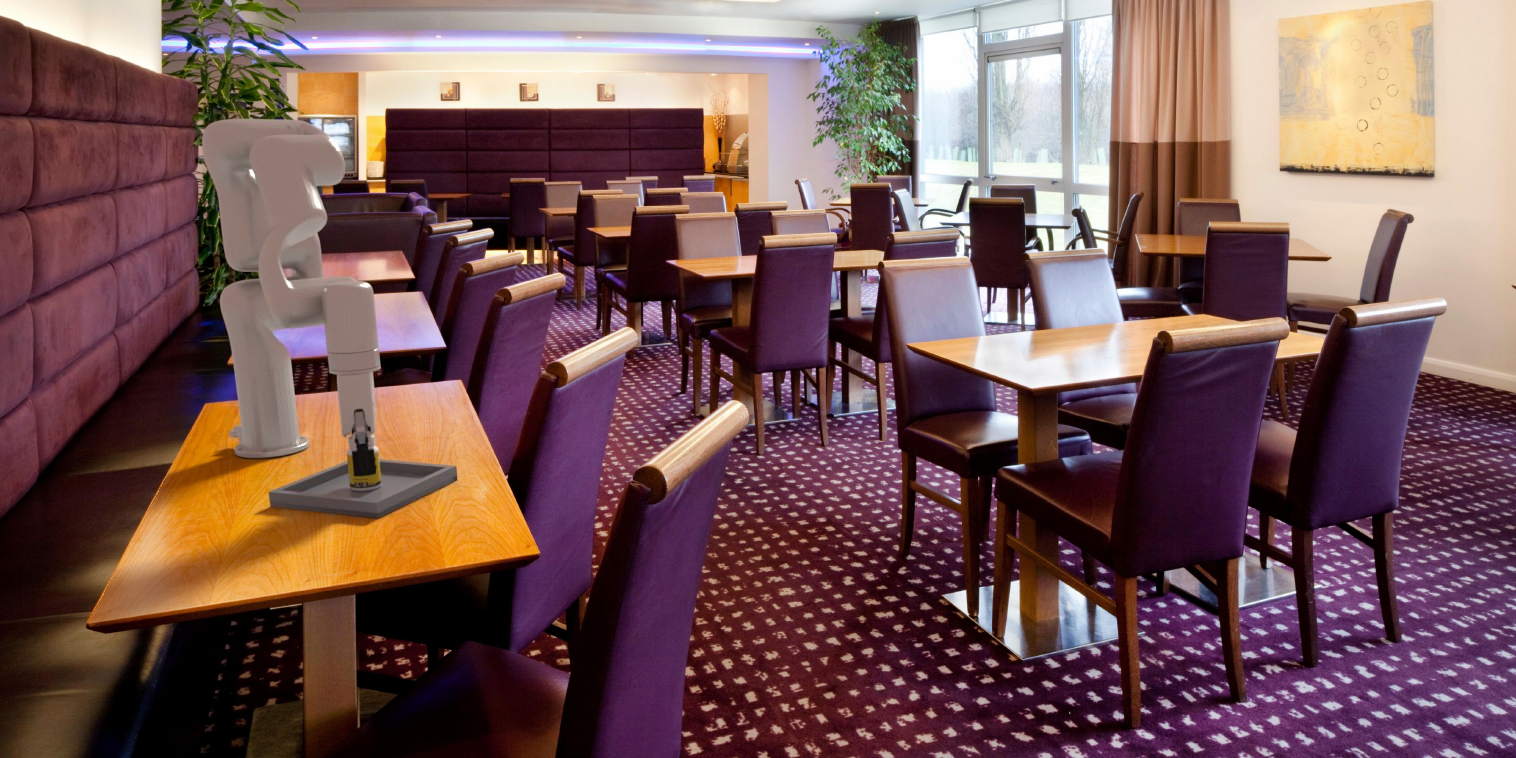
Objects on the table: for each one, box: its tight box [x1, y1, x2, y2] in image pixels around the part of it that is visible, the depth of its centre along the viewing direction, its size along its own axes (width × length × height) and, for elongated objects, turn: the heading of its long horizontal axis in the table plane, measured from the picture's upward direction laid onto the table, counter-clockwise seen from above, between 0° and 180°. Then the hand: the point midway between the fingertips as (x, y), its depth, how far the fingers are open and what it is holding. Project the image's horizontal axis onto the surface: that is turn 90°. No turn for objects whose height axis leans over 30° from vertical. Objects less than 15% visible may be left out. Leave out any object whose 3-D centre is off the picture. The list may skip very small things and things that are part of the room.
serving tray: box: [268, 458, 458, 519], centre depth 168 cm, size 20×20×2 cm
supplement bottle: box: [346, 433, 381, 491], centre depth 168 cm, size 5×5×8 cm
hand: (364, 466), depth 168 cm, fingers open, 9 cm apart
